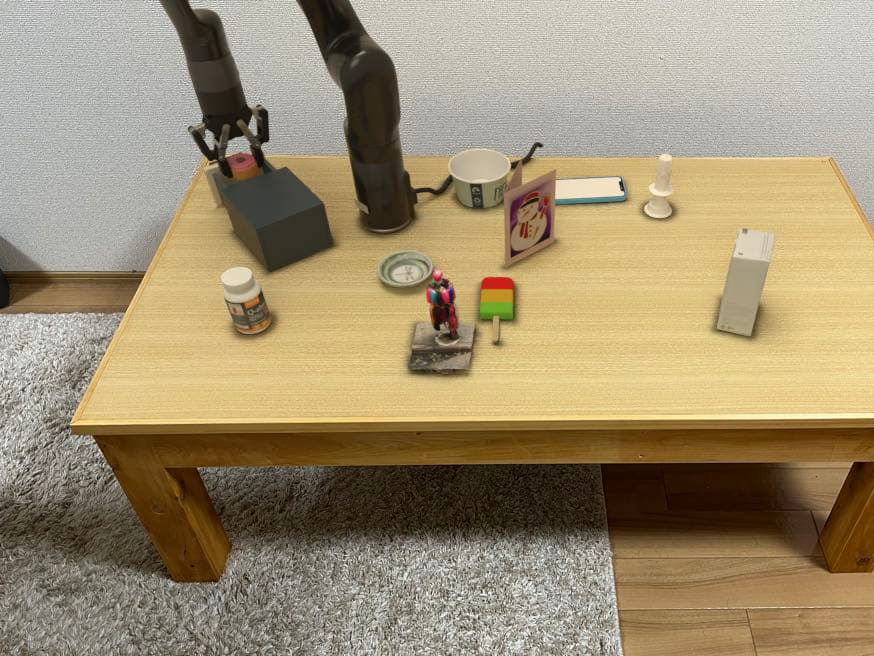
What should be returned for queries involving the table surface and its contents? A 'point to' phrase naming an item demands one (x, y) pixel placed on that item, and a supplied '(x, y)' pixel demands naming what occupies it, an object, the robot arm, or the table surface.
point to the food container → (479, 176)
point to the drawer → (220, 181)
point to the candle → (661, 189)
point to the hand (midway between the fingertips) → (243, 170)
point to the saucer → (405, 268)
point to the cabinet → (278, 218)
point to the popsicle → (496, 301)
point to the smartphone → (590, 190)
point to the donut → (243, 166)
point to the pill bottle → (245, 300)
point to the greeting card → (528, 214)
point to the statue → (442, 332)
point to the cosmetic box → (745, 281)
